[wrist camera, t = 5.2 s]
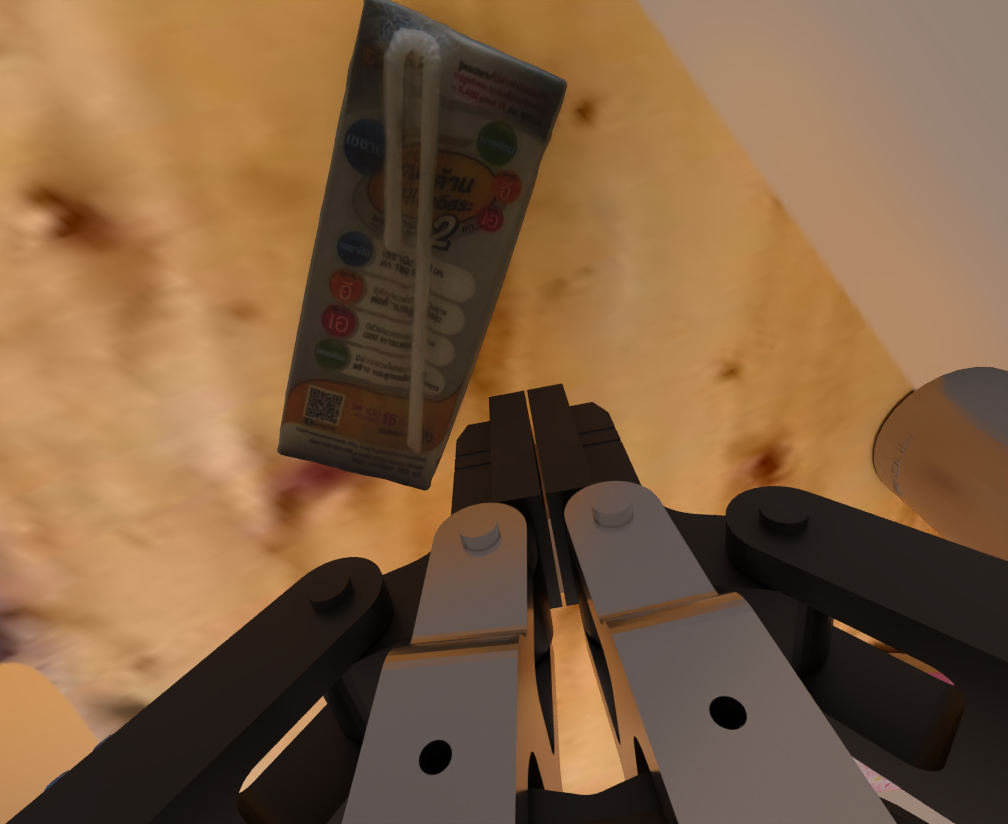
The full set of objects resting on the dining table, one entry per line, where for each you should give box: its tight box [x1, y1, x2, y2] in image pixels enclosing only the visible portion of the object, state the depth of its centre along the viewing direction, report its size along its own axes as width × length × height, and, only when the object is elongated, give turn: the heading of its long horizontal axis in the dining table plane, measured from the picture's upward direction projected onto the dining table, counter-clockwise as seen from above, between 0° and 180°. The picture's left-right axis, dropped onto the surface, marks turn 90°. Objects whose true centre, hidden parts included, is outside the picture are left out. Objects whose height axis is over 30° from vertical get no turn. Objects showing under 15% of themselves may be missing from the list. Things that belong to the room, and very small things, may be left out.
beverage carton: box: [277, 0, 567, 490], centre depth 25 cm, size 8×19×7 cm, turn 161°
